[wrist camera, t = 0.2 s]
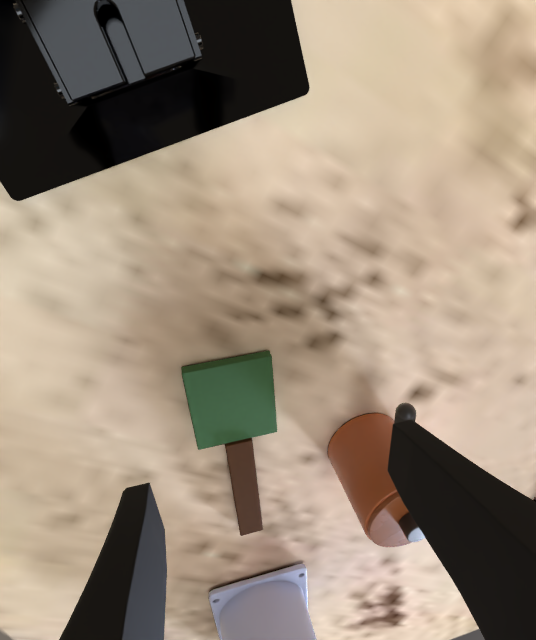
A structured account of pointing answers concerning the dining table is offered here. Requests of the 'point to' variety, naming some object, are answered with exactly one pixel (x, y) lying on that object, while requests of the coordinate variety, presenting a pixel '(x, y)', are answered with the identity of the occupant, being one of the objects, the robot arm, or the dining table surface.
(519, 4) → the dining table surface
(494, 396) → the dining table surface
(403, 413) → the pot
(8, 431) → the dining table surface
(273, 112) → the dining table surface
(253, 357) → the spatula
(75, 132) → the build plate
